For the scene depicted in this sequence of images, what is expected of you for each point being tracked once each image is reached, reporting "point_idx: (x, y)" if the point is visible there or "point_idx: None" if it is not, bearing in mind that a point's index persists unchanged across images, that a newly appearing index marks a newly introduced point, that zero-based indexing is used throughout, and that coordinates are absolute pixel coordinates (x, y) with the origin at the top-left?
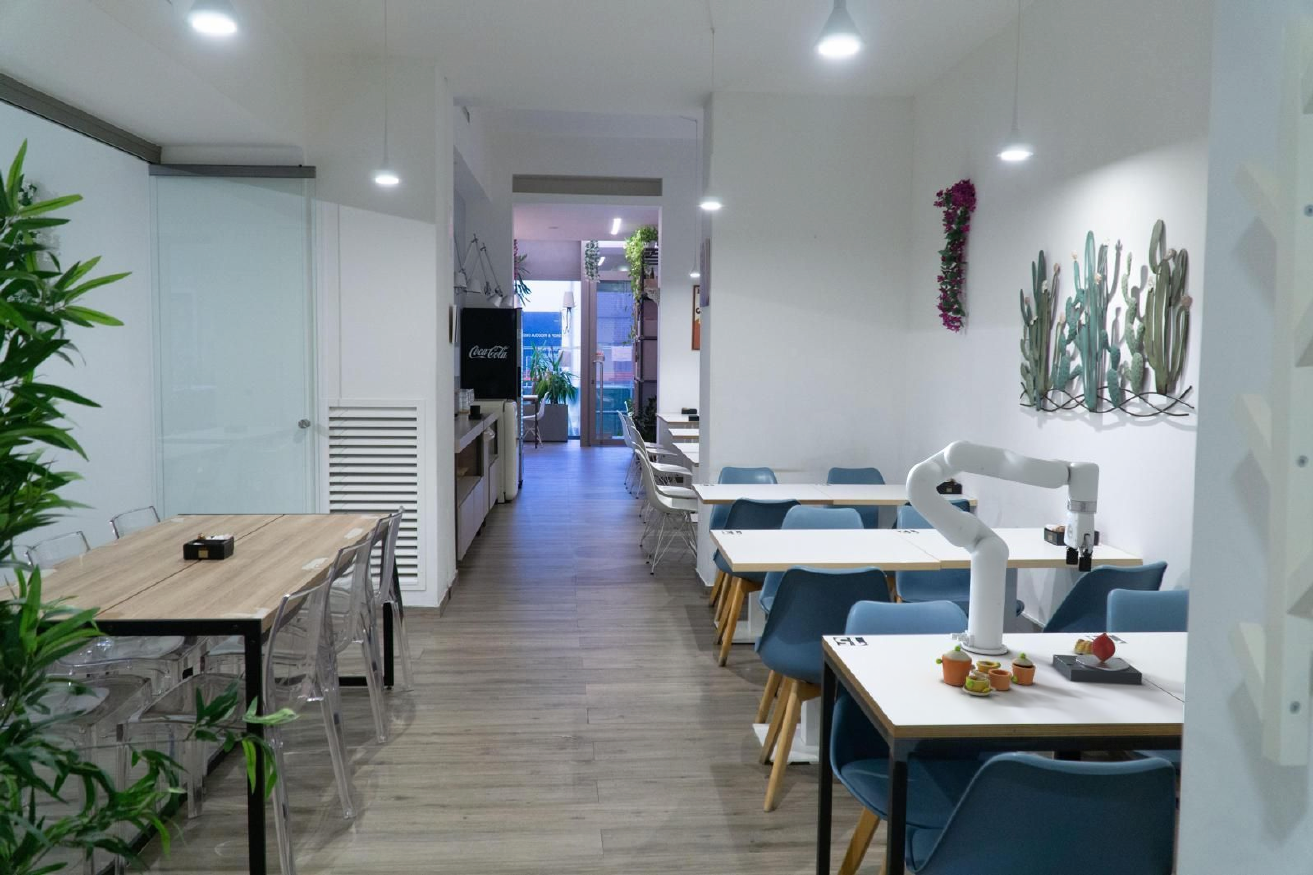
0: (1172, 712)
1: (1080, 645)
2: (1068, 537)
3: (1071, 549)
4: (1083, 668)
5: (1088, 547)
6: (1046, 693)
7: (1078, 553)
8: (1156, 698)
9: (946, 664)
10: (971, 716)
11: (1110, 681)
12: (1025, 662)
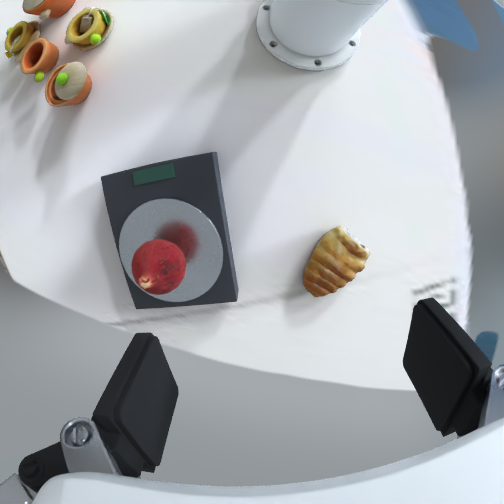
0: (42, 295)
1: (333, 241)
2: None
3: (470, 407)
4: (117, 203)
5: (3, 486)
6: (41, 129)
7: (437, 421)
8: (83, 297)
9: None
10: None
11: None
12: (55, 86)
